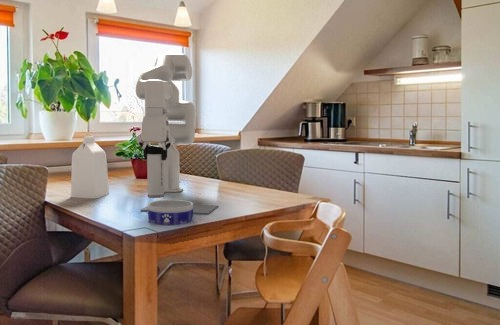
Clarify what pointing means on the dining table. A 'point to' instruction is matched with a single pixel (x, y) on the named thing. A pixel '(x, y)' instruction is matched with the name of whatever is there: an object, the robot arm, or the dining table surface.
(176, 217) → the dog bowl
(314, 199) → the dining table surface
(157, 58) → the robot arm
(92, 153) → the milk
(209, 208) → the mat
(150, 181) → the travel mug
